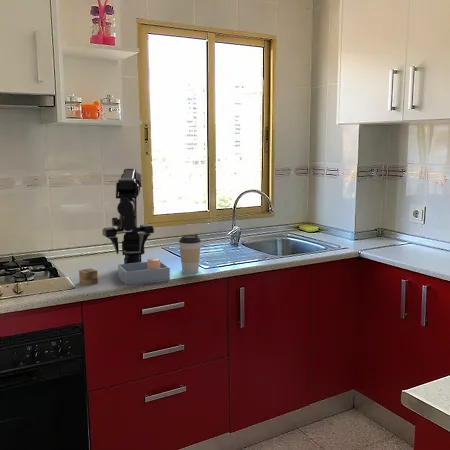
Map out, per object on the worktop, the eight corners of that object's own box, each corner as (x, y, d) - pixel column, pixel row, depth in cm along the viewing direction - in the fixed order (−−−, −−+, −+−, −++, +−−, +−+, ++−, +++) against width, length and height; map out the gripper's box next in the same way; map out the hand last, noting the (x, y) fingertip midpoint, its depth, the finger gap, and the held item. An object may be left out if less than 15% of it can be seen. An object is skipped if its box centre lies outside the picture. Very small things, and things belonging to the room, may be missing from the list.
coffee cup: (183, 274, 205) (182, 238, 203) (176, 269, 213) (175, 234, 211) (204, 272, 209) (204, 236, 206) (196, 267, 217) (196, 232, 214)
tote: (160, 272, 208) (159, 260, 208) (169, 280, 197) (169, 267, 196) (118, 276, 202) (118, 264, 201) (126, 285, 190) (125, 272, 189)
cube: (91, 280, 196) (91, 268, 196) (97, 283, 193) (97, 270, 192) (79, 283, 193) (78, 270, 192) (85, 285, 189) (85, 272, 189)
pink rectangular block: (156, 274, 202) (156, 257, 201) (162, 277, 198) (162, 260, 197) (145, 276, 199) (145, 259, 198) (151, 279, 195) (150, 261, 194)
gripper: (144, 208, 203) (145, 246, 206) (97, 211, 195) (99, 251, 197) (153, 211, 194) (154, 251, 196) (105, 215, 185) (107, 256, 188)
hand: (129, 252), depth 195 cm, fingers open, 9 cm apart
